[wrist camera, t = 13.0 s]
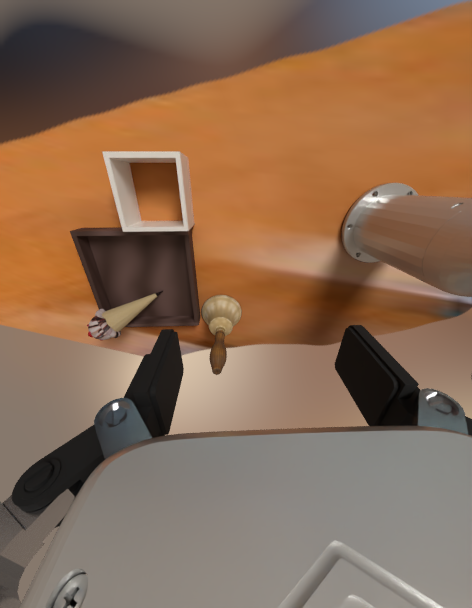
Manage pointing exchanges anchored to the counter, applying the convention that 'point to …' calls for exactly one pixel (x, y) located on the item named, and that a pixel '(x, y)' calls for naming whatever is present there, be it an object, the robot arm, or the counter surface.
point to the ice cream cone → (117, 318)
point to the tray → (142, 273)
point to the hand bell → (220, 325)
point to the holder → (127, 196)
